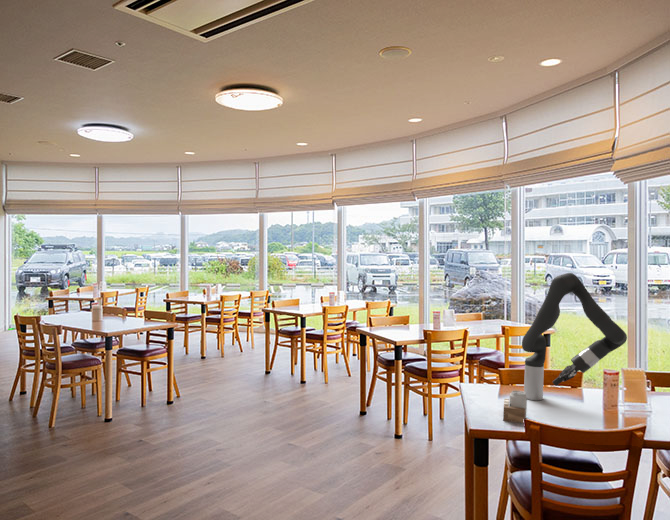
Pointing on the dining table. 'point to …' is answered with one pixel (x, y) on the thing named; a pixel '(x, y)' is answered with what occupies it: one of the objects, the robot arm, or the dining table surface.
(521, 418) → the corner stop
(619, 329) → the robot arm
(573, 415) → the dining table surface
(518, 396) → the can
